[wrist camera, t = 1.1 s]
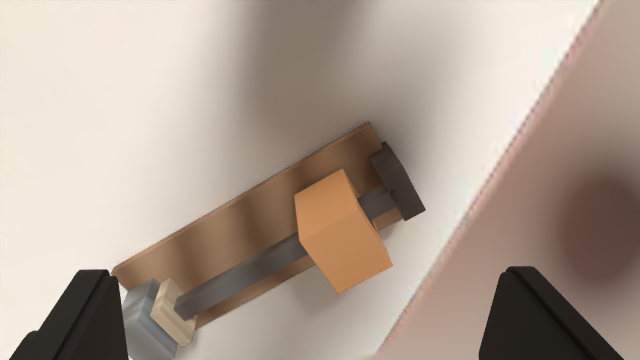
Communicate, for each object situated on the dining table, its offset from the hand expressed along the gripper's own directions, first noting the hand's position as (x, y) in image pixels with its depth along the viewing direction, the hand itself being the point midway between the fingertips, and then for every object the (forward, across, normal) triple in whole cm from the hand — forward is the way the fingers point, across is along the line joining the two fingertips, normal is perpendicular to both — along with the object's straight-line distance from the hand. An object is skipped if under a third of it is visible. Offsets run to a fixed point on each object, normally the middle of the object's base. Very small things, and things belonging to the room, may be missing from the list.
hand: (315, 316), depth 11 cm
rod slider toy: (+29, +1, +14) cm, 32 cm away
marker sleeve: (+27, -5, +11) cm, 30 cm away
